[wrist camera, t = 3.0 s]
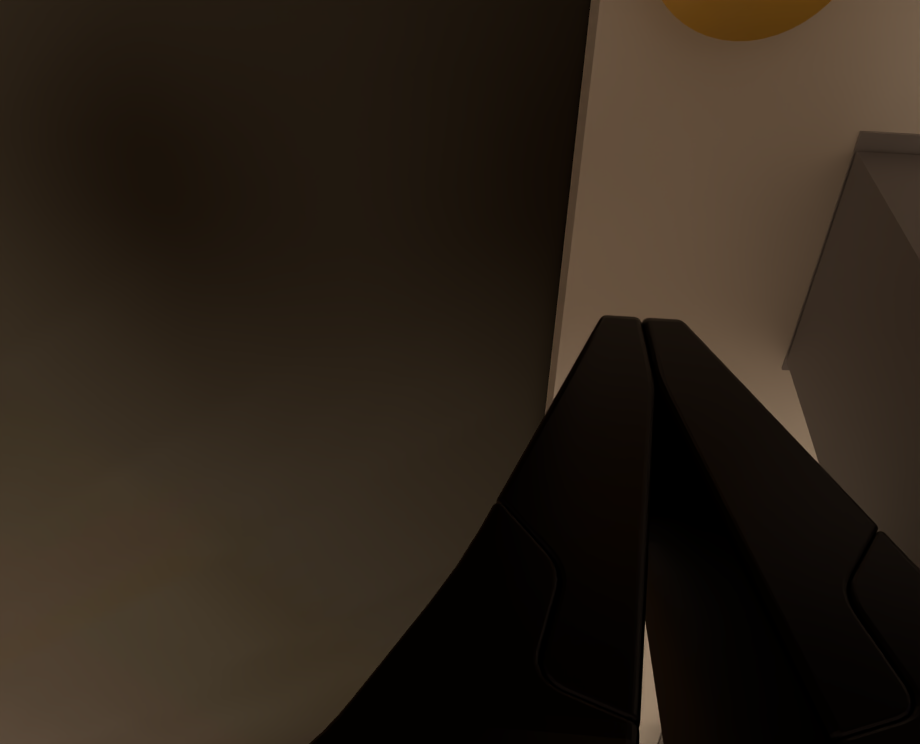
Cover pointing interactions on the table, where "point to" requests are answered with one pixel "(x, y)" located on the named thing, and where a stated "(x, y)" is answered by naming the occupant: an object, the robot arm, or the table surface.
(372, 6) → the table surface
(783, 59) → the beige rectangular board
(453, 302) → the table surface
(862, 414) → the cylinder
